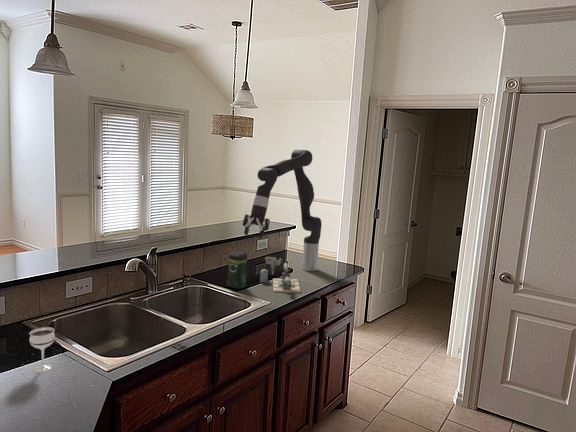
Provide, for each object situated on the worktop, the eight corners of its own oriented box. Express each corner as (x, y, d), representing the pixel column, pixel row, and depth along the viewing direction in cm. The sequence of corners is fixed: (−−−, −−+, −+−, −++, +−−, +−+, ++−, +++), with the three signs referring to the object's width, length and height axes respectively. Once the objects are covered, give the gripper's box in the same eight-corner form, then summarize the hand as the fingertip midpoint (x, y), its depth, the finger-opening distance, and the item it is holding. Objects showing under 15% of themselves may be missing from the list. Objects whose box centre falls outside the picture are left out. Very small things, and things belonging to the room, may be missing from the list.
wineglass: (43, 361, 133) (42, 325, 131) (60, 365, 131) (60, 329, 129) (24, 371, 126) (23, 334, 125) (42, 375, 125) (41, 338, 123)
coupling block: (260, 280, 231) (260, 268, 230) (267, 280, 231) (268, 269, 230) (260, 282, 227) (260, 270, 226) (267, 282, 227) (268, 271, 226)
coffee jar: (248, 286, 218) (250, 252, 215) (238, 290, 212) (240, 254, 209) (234, 282, 223) (236, 249, 221) (224, 286, 217) (225, 251, 214)
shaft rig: (272, 277, 237) (273, 262, 236) (297, 278, 238) (298, 263, 236) (273, 294, 209) (274, 276, 207) (301, 295, 209) (302, 278, 208)
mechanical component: (280, 276, 241) (281, 259, 239) (263, 274, 243) (264, 257, 241) (281, 274, 244) (282, 258, 242) (264, 272, 246) (265, 256, 244)
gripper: (275, 209, 214) (268, 240, 212) (252, 205, 220) (245, 234, 219) (268, 206, 207) (261, 238, 206) (244, 202, 214) (237, 232, 212)
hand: (252, 236), depth 212 cm, fingers open, 8 cm apart
